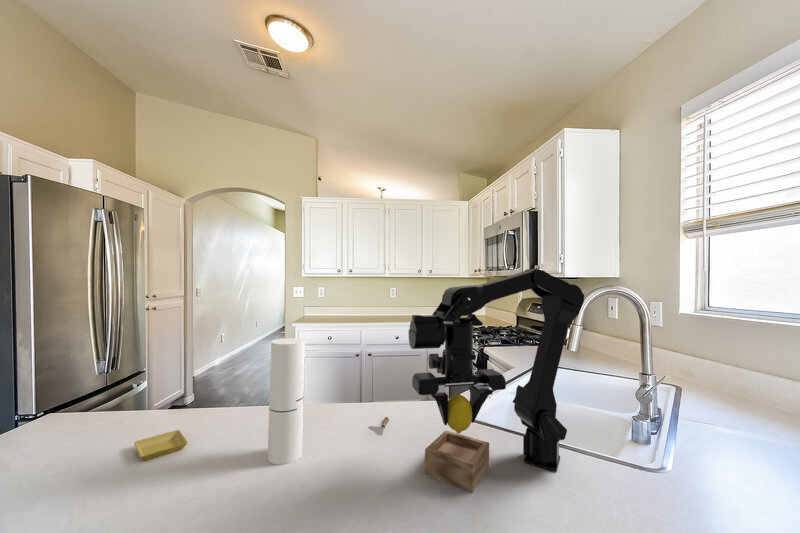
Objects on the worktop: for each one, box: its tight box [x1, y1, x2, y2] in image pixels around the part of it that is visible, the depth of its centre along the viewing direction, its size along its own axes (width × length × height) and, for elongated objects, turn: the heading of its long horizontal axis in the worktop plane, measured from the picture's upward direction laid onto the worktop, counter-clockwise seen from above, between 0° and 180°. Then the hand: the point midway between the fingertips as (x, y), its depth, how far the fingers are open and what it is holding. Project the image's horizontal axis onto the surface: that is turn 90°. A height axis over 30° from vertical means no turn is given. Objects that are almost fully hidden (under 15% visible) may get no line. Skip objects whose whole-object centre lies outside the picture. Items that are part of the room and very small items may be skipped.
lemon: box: [447, 393, 472, 434], centre depth 68 cm, size 6×6×8 cm
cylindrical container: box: [267, 338, 306, 465], centre depth 72 cm, size 7×7×25 cm
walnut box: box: [424, 430, 490, 493], centre depth 67 cm, size 10×10×5 cm
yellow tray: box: [133, 429, 189, 462], centre depth 73 cm, size 9×9×2 cm
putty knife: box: [367, 416, 390, 437], centre depth 85 cm, size 13×1×5 cm
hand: (458, 423), depth 67 cm, fingers closed on lemon, 5 cm apart
